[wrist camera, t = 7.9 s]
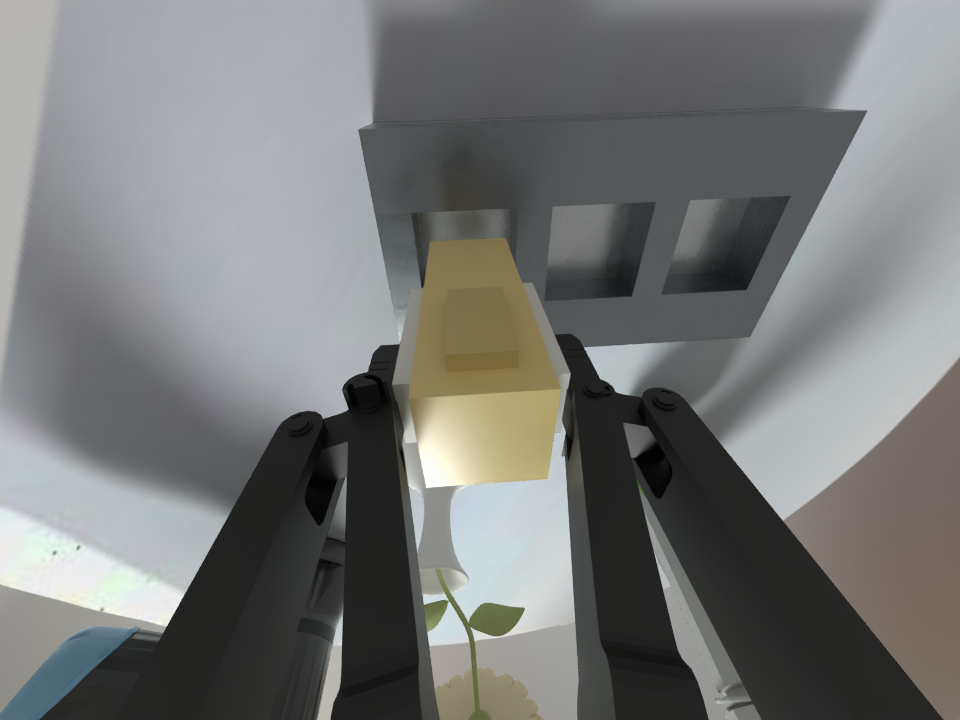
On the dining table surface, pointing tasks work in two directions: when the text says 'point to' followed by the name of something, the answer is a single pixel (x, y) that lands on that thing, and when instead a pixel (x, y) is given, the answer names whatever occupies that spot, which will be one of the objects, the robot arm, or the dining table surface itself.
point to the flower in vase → (479, 695)
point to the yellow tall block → (480, 371)
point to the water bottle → (701, 626)
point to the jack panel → (613, 210)
